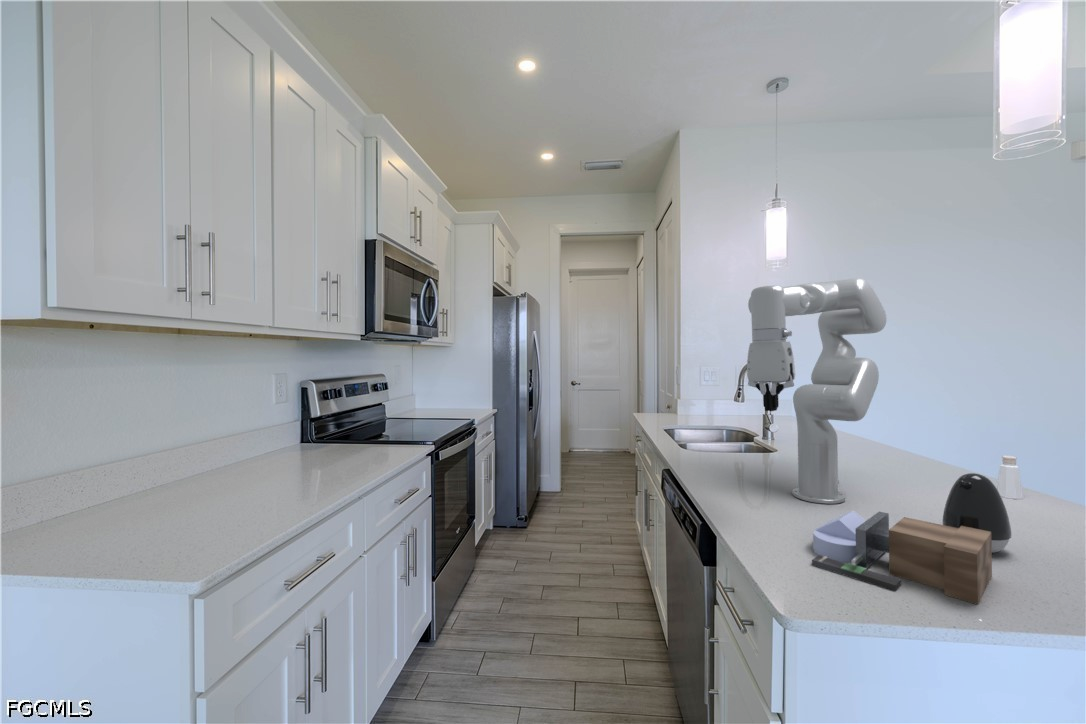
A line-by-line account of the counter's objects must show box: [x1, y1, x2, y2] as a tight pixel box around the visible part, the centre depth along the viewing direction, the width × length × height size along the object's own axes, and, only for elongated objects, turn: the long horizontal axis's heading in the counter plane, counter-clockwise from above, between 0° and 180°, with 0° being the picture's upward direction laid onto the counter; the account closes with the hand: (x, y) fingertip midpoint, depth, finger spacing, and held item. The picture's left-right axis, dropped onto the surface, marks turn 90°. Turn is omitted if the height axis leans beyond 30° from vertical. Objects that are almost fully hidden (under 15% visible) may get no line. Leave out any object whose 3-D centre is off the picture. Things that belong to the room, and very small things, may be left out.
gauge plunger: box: [850, 511, 890, 570], centre depth 84 cm, size 18×10×7 cm, turn 129°
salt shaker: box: [996, 455, 1024, 500], centre depth 125 cm, size 5×5×11 cm
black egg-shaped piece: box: [942, 472, 1013, 554], centre depth 93 cm, size 10×10×15 cm
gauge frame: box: [811, 517, 993, 605], centre depth 84 cm, size 18×22×8 cm
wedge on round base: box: [812, 509, 866, 564], centre depth 93 cm, size 9×7×13 cm
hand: (771, 410), depth 113 cm, fingers closed
